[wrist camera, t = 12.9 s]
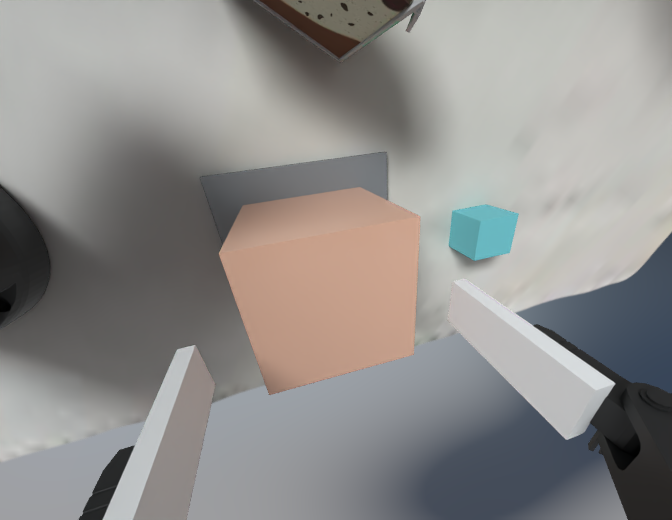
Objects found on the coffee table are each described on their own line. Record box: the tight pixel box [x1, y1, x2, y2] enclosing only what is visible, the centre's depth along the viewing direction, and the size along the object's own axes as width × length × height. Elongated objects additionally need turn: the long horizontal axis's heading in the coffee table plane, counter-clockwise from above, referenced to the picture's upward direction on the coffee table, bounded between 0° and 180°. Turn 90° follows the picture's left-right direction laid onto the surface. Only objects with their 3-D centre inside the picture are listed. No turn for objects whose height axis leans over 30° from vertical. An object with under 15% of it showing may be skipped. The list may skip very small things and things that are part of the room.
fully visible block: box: [449, 205, 519, 261], centre depth 25 cm, size 4×4×4 cm
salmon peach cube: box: [219, 187, 420, 395], centre depth 19 cm, size 10×10×10 cm
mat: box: [200, 152, 387, 244], centre depth 23 cm, size 15×15×1 cm
